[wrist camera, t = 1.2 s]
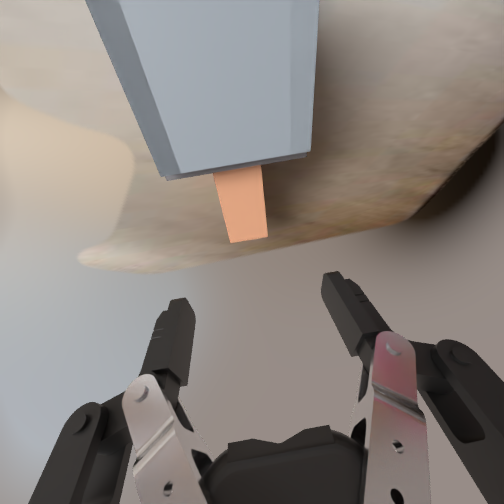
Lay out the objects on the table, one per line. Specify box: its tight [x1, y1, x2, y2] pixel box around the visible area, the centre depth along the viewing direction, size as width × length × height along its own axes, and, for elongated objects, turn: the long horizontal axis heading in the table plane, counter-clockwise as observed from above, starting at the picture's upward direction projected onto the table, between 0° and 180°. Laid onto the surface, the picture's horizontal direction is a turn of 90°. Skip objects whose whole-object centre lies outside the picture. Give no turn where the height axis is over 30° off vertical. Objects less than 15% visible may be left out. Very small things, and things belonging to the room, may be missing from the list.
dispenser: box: [85, 0, 319, 181], centre depth 12 cm, size 9×10×9 cm
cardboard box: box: [213, 165, 268, 243], centre depth 16 cm, size 4×15×6 cm, turn 8°
